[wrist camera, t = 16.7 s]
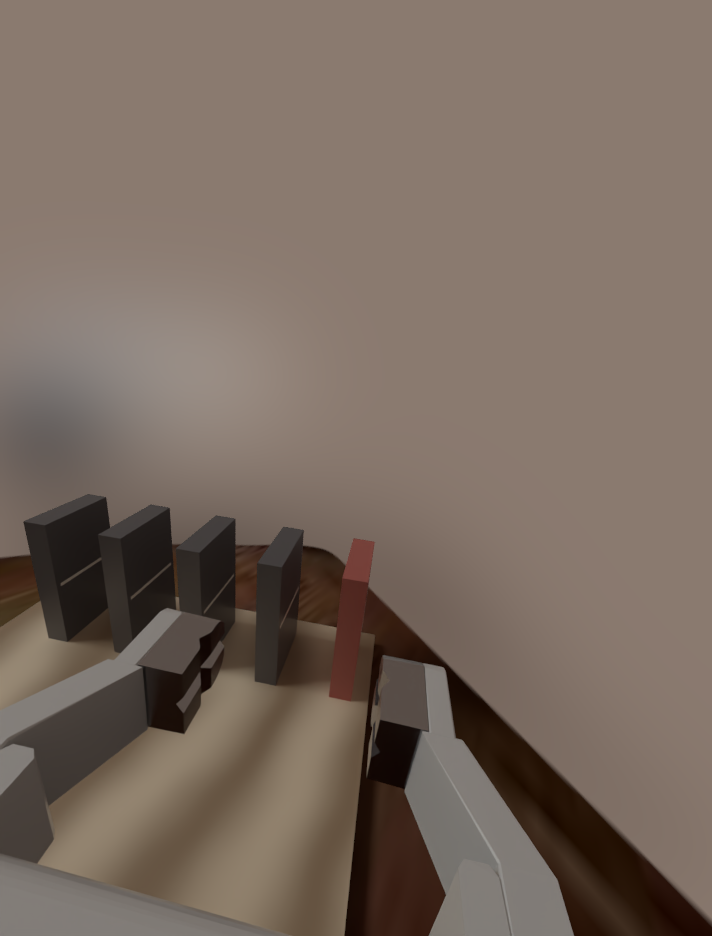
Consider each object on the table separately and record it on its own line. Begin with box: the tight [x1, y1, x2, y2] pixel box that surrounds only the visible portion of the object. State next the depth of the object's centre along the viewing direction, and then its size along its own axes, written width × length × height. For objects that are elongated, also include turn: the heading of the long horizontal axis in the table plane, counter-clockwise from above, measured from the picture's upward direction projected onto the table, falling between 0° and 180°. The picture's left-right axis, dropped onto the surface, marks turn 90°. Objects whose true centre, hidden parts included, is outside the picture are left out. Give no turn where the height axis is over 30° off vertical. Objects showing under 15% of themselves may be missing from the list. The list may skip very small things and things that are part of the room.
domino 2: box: [98, 505, 176, 653], centre depth 26 cm, size 2×5×10 cm, turn 172°
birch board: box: [0, 597, 375, 936], centre depth 21 cm, size 29×22×1 cm
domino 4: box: [255, 527, 304, 686], centre depth 25 cm, size 2×5×10 cm, turn 172°
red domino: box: [329, 539, 374, 702], centre depth 25 cm, size 2×5×10 cm, turn 173°
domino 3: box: [176, 516, 235, 642], centre depth 26 cm, size 2×5×10 cm, turn 173°
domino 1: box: [24, 494, 110, 642], centre depth 27 cm, size 2×5×10 cm, turn 172°
